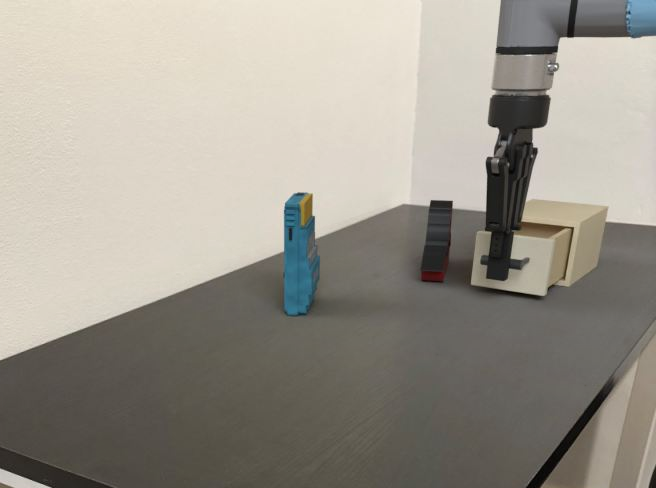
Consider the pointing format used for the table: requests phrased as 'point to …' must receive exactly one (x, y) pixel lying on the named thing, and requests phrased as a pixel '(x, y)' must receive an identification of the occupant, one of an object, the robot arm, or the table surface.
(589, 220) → the cabinet
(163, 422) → the table surface
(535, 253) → the drawer
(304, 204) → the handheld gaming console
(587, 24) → the robot arm
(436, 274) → the extruded letter emblem
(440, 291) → the table surface
